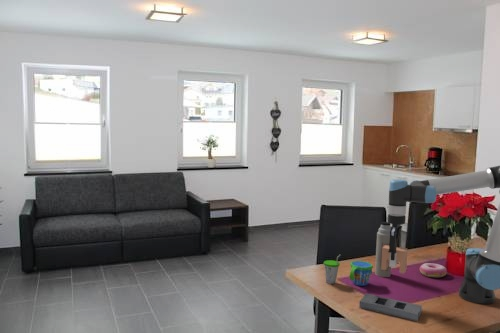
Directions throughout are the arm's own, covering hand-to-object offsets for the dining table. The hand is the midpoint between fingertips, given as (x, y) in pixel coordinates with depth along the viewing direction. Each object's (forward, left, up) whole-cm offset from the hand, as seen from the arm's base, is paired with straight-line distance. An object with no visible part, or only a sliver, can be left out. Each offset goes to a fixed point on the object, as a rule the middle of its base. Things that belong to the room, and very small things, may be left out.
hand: (394, 264), depth 202 cm
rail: (-2, +12, -16) cm, 20 cm away
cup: (+31, -5, -17) cm, 36 cm away
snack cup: (+18, -12, -17) cm, 27 cm away
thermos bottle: (+12, -32, -17) cm, 38 cm away
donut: (-11, -47, -17) cm, 51 cm away
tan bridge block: (0, 0, -2) cm, 2 cm away
